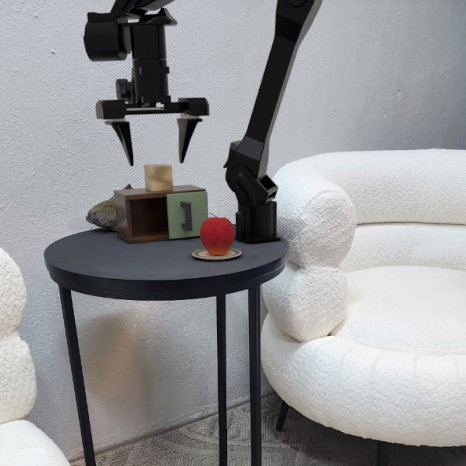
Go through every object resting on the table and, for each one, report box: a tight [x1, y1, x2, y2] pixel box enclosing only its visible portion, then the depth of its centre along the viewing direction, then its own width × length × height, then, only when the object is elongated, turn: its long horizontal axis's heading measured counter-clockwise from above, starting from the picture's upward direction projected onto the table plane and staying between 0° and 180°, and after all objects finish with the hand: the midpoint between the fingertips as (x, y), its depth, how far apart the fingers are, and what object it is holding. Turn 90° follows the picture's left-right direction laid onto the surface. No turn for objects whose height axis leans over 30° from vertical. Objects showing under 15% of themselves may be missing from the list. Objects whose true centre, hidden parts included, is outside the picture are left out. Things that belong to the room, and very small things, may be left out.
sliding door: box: [166, 190, 209, 240], centre depth 122 cm, size 8×4×7 cm, turn 113°
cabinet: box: [112, 184, 207, 245], centre depth 126 cm, size 15×8×8 cm, turn 113°
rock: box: [85, 183, 135, 232], centre depth 133 cm, size 11×6×10 cm
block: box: [143, 163, 174, 192], centre depth 123 cm, size 4×4×4 cm
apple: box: [191, 212, 242, 261], centre depth 110 cm, size 8×8×6 cm
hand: (156, 164), depth 121 cm, fingers open, 9 cm apart
